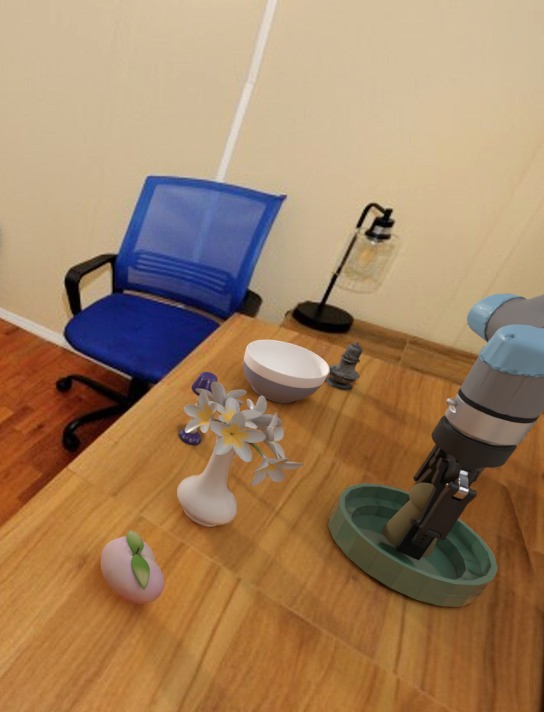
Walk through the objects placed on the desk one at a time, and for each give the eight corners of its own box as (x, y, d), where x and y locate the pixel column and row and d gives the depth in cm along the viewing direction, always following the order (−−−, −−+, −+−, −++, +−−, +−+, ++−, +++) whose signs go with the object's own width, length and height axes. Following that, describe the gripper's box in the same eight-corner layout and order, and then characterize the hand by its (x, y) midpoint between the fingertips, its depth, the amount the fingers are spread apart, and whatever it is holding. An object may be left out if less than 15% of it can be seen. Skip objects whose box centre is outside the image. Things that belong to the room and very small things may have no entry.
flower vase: (220, 572, 80) (270, 456, 69) (139, 485, 96) (169, 379, 85) (282, 549, 84) (339, 435, 72) (194, 469, 99) (230, 364, 88)
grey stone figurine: (332, 389, 121) (351, 347, 115) (318, 375, 126) (336, 334, 120) (359, 392, 120) (380, 349, 114) (344, 377, 125) (364, 336, 119)
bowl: (223, 369, 129) (234, 337, 124) (291, 373, 127) (305, 341, 122) (253, 410, 115) (266, 375, 110) (330, 415, 113) (346, 381, 108)
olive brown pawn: (380, 541, 81) (410, 492, 76) (383, 518, 85) (411, 470, 80) (432, 564, 77) (467, 515, 72) (432, 539, 81) (465, 490, 76)
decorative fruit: (88, 561, 82) (98, 519, 78) (139, 562, 82) (152, 520, 78) (107, 620, 74) (119, 577, 69) (163, 621, 74) (179, 578, 69)
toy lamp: (203, 449, 104) (225, 384, 97) (178, 444, 106) (198, 379, 98) (199, 433, 108) (220, 370, 101) (175, 429, 110) (194, 366, 102)
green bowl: (467, 545, 84) (486, 520, 81) (486, 636, 71) (508, 611, 69) (329, 490, 94) (341, 467, 92) (323, 561, 82) (338, 537, 79)
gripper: (436, 386, 79) (374, 490, 90) (450, 456, 66) (376, 568, 77) (505, 405, 75) (432, 512, 86) (535, 484, 62) (444, 599, 73)
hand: (406, 538), depth 81 cm, fingers closed on olive brown pawn, 6 cm apart
